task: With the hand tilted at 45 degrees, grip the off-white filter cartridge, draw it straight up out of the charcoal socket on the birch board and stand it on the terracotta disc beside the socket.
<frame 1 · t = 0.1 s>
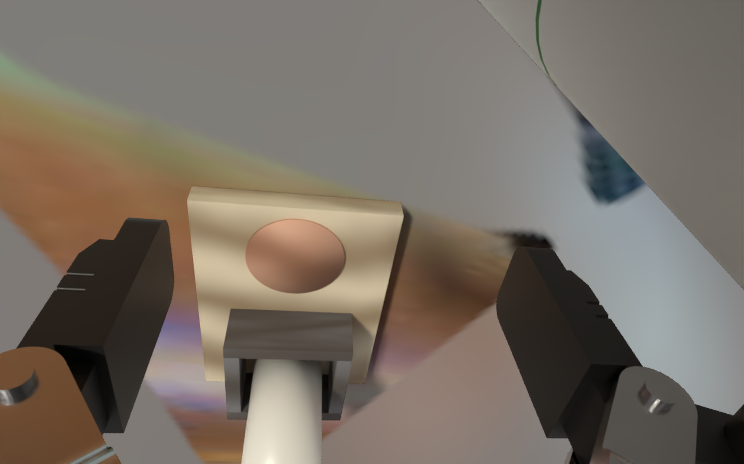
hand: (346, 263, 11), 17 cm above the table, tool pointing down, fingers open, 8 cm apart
socket board: (293, 293, 36), on the table
filter cartridge: (289, 348, 38), point 1 cm above the table, touching socket board
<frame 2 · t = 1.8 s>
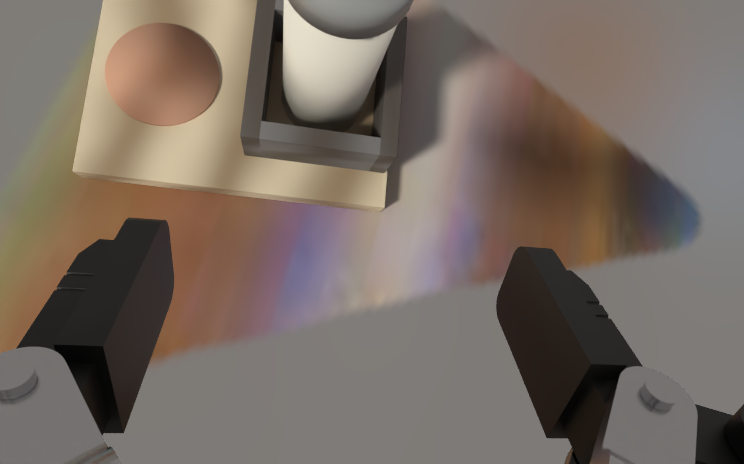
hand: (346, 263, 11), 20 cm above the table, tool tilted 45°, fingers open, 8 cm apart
socket board: (250, 97, 32), on the table
filter cartridge: (322, 98, 31), point 1 cm above the table, touching socket board
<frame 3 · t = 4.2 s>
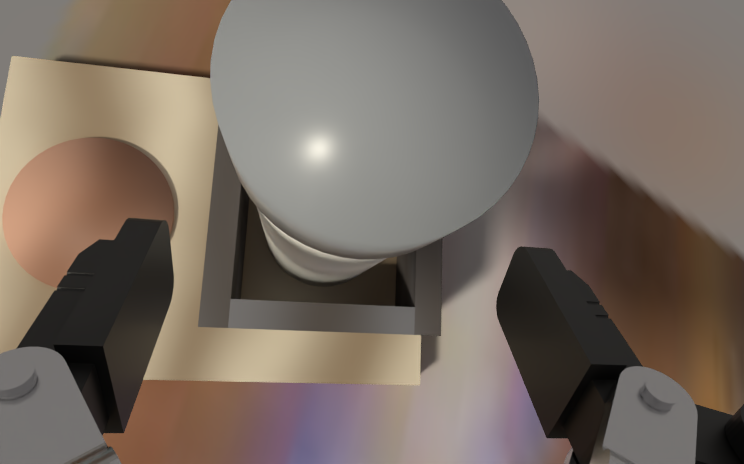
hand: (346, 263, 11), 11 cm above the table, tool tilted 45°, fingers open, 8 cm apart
socket board: (222, 228, 22), on the table
filter cartridge: (324, 229, 22), point 1 cm above the table, touching socket board
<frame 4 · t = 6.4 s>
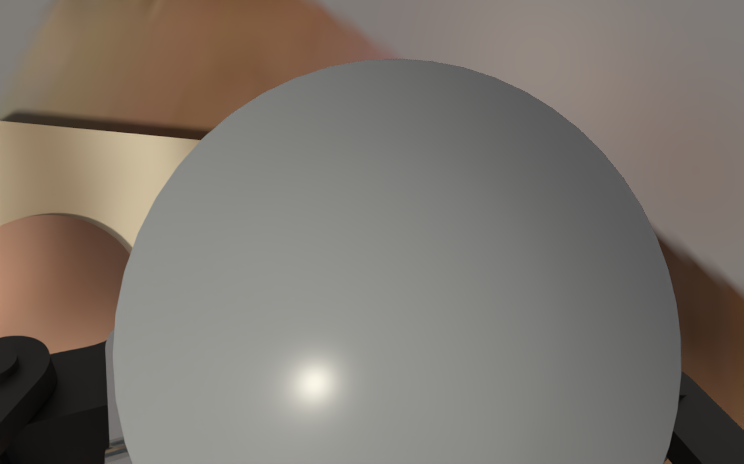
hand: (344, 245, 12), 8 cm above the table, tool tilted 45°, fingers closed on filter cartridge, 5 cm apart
socket board: (204, 314, 19), on the table
filter cartridge: (323, 320, 18), point 2 cm above the table, touching gripper, socket board
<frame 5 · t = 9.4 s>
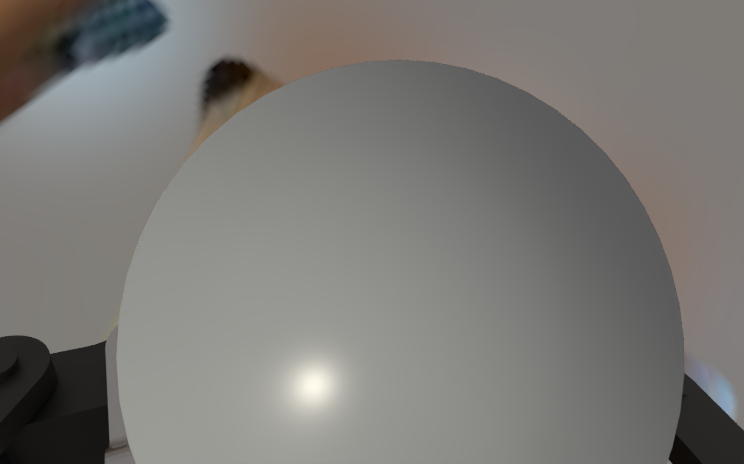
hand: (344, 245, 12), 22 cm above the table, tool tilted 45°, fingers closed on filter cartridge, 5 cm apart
filter cartridge: (324, 320, 18), point 15 cm above the table, touching gripper
when the fingers open (10 cm above the table, at t = 12.8 s): filter cartridge drops 1 cm, resting on socket board.
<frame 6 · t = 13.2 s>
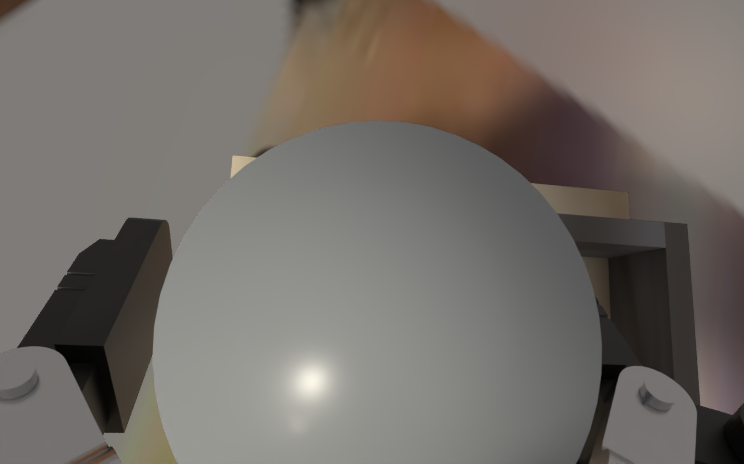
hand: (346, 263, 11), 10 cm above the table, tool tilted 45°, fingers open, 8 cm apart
socket board: (430, 324, 22), on the table
filter cartridge: (320, 323, 19), point 2 cm above the table, touching socket board
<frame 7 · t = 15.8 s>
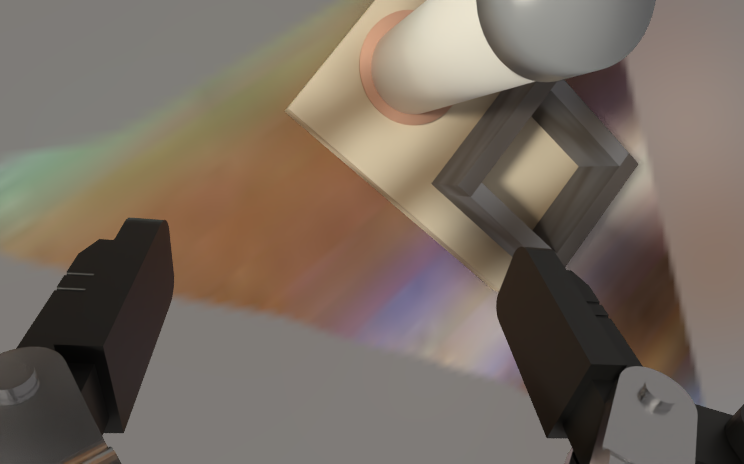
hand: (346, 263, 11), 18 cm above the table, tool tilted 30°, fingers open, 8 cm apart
socket board: (459, 128, 31), on the table
filter cartridge: (412, 70, 28), point 2 cm above the table, touching socket board
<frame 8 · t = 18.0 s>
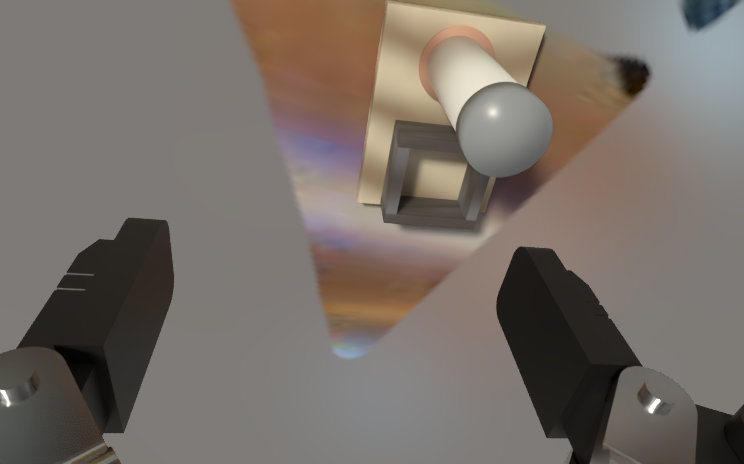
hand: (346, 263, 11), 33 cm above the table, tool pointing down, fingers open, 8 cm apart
socket board: (439, 116, 45), on the table
filter cartridge: (455, 66, 41), point 2 cm above the table, touching socket board
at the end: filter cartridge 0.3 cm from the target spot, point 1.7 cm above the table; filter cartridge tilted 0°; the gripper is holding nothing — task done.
